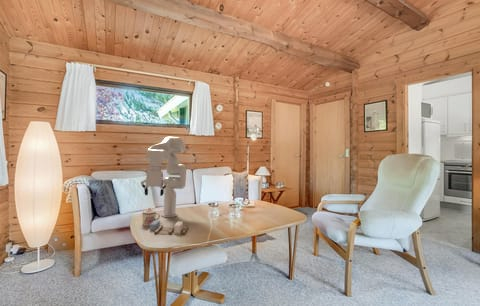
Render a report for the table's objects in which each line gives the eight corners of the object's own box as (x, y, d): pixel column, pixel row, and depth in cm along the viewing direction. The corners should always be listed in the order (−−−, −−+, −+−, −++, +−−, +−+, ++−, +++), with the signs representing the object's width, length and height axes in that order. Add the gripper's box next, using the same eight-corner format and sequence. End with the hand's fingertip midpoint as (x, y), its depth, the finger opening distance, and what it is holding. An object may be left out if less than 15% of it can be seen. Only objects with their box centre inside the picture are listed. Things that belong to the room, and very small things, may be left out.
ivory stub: (177, 228, 159) (177, 221, 159) (182, 228, 159) (182, 221, 159) (174, 233, 150) (174, 225, 150) (179, 233, 150) (180, 225, 150)
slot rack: (160, 228, 161) (160, 225, 161) (188, 229, 162) (188, 225, 162) (153, 235, 147) (153, 231, 147) (184, 236, 148) (184, 232, 148)
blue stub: (154, 227, 164) (154, 220, 164) (159, 227, 164) (159, 220, 164) (149, 232, 155) (150, 224, 155) (155, 232, 155) (155, 224, 155)
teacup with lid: (143, 226, 164) (144, 210, 164) (140, 223, 172) (141, 207, 172) (161, 224, 170) (161, 208, 170) (158, 221, 178) (158, 205, 178)
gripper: (170, 169, 158) (168, 194, 158) (143, 168, 158) (142, 194, 157) (167, 169, 151) (165, 196, 150) (139, 168, 150) (138, 195, 150)
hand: (153, 195), depth 154 cm, fingers open, 9 cm apart
